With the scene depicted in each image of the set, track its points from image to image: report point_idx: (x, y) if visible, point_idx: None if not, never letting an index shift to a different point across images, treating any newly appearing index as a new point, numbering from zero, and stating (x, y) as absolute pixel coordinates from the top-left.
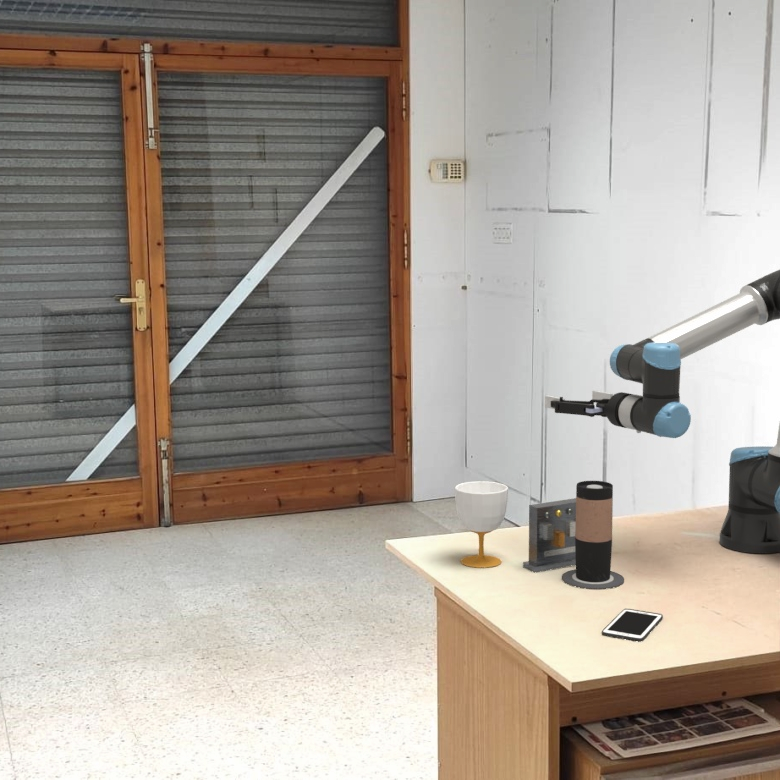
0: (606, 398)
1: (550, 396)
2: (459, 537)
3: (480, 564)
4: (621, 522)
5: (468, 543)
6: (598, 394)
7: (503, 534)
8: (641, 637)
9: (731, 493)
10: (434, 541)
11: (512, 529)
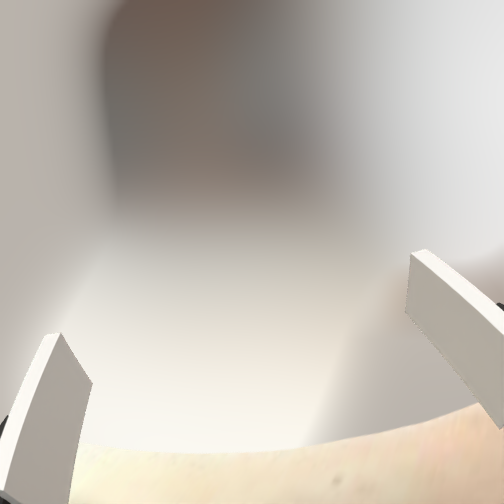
0: (494, 371)
1: (35, 365)
2: (127, 465)
3: None
4: (433, 445)
5: (120, 495)
6: (445, 300)
7: (196, 478)
8: None
9: None
10: (89, 465)
11: (226, 458)
